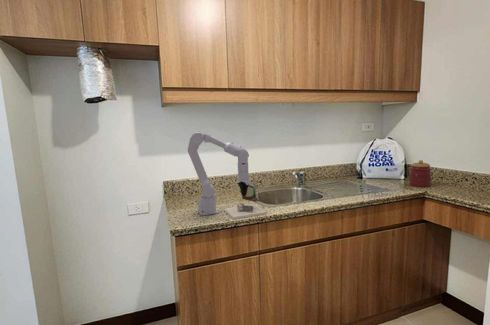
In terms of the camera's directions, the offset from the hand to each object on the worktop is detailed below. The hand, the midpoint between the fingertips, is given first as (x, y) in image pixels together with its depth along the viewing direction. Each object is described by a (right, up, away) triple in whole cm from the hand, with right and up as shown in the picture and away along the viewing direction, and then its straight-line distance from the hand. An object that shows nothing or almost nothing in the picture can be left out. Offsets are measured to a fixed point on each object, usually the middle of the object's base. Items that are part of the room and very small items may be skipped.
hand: (243, 195), depth 150 cm
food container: (+4, -5, +22) cm, 23 cm away
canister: (+122, +2, +40) cm, 129 cm away
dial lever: (+1, -7, -6) cm, 10 cm away
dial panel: (0, -9, -4) cm, 10 cm away
